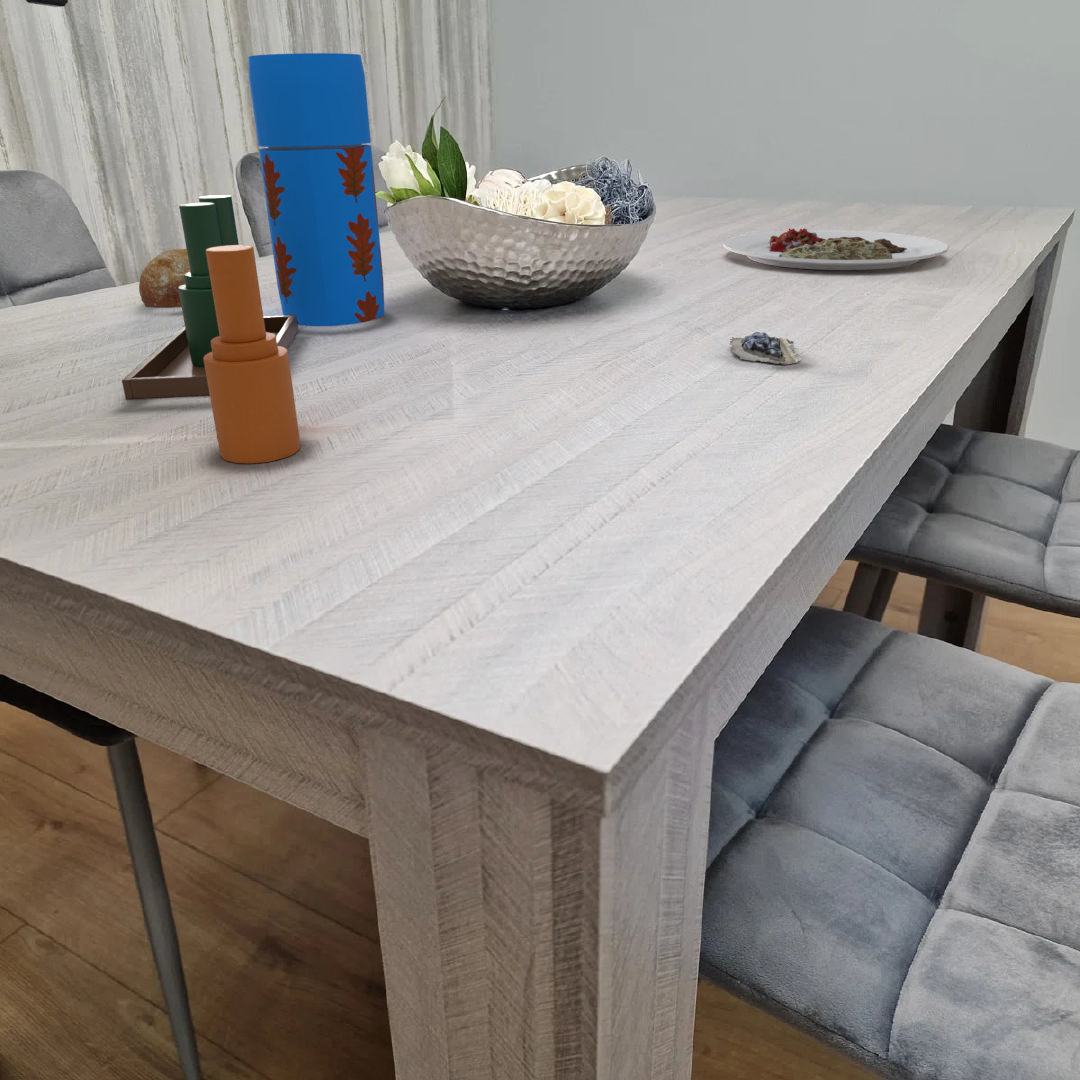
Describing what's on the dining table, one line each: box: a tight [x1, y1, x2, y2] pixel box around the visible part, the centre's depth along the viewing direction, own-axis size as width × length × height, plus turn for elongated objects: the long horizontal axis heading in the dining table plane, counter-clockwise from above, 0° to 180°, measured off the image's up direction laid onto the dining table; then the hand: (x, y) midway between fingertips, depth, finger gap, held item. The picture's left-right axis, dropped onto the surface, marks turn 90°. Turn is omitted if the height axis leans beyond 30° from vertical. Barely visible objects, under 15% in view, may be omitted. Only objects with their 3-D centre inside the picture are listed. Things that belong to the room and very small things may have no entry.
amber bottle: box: [203, 244, 302, 464], centre depth 60 cm, size 5×5×13 cm
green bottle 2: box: [178, 202, 221, 367], centre depth 80 cm, size 5×5×13 cm
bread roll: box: [138, 248, 190, 309], centre depth 109 cm, size 10×10×8 cm
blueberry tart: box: [729, 331, 802, 366], centre depth 83 cm, size 7×8×2 cm
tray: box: [121, 315, 299, 401], centre depth 82 cm, size 10×22×2 cm, turn 6°
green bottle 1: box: [198, 194, 240, 246], centre depth 86 cm, size 5×5×13 cm
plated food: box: [723, 227, 949, 271], centre depth 131 cm, size 30×30×3 cm
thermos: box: [247, 52, 385, 327], centre depth 94 cm, size 11×11×25 cm
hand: (128, 0), depth 52 cm, fingers open, 9 cm apart
